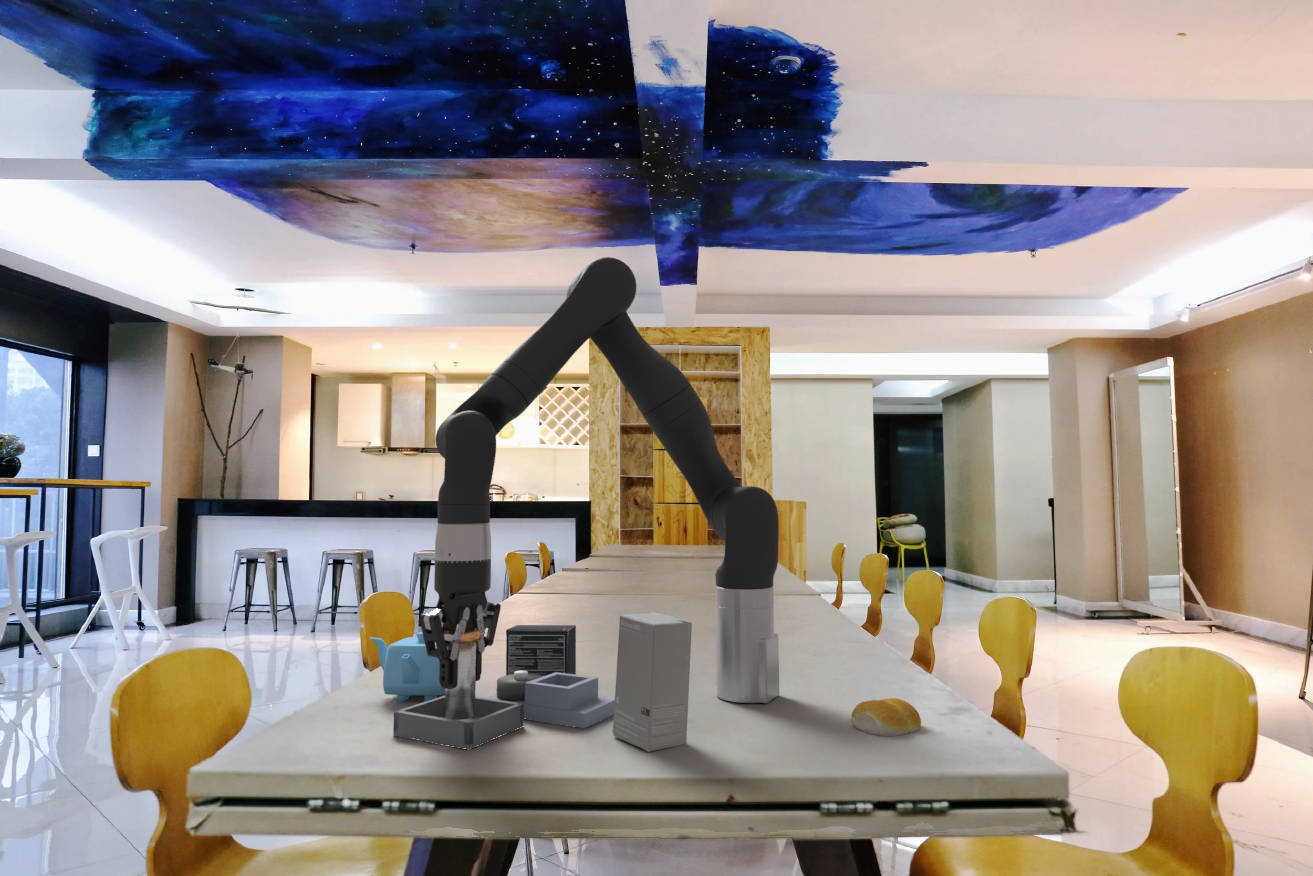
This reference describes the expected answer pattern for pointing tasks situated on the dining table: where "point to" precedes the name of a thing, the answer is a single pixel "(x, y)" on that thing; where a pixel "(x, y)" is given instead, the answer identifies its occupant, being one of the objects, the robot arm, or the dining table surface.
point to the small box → (541, 649)
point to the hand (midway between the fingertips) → (461, 683)
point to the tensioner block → (556, 697)
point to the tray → (458, 722)
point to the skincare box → (652, 680)
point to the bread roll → (886, 717)
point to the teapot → (409, 669)
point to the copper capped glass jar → (463, 678)
